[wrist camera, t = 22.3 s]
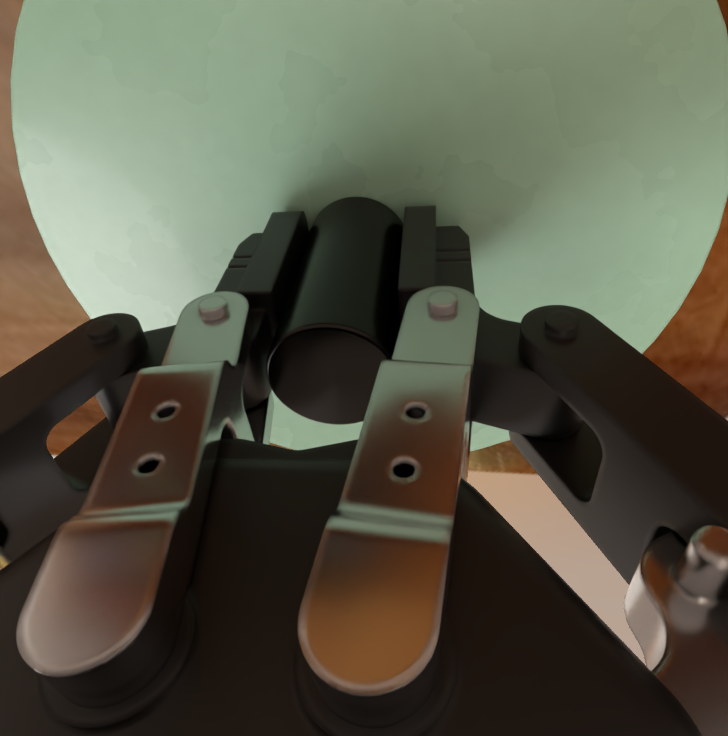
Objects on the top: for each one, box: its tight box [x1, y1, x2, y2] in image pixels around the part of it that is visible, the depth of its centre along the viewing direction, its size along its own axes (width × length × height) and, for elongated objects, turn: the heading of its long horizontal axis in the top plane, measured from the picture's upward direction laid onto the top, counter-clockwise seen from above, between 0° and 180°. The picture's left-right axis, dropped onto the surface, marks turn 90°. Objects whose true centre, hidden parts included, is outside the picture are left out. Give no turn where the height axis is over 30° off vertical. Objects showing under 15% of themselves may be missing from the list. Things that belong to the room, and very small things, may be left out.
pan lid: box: [10, 0, 728, 451], centre depth 12 cm, size 16×16×6 cm
